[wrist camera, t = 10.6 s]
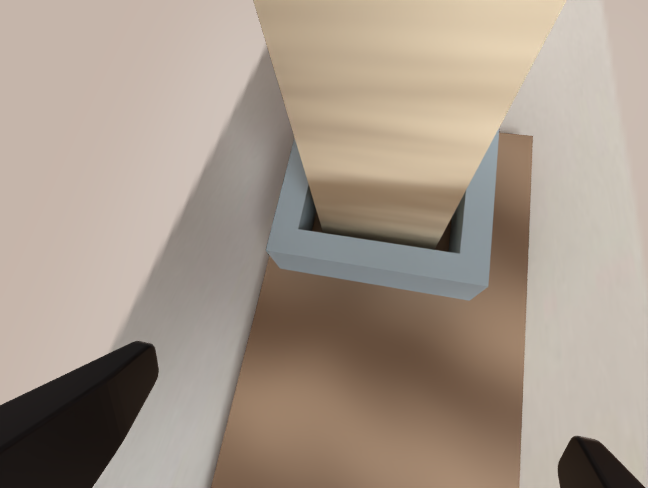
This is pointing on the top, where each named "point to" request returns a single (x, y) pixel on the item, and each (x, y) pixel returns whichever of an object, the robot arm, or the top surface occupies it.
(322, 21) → the beech pillar
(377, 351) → the tan flat plate
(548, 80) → the top surface
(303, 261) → the slate socket block
